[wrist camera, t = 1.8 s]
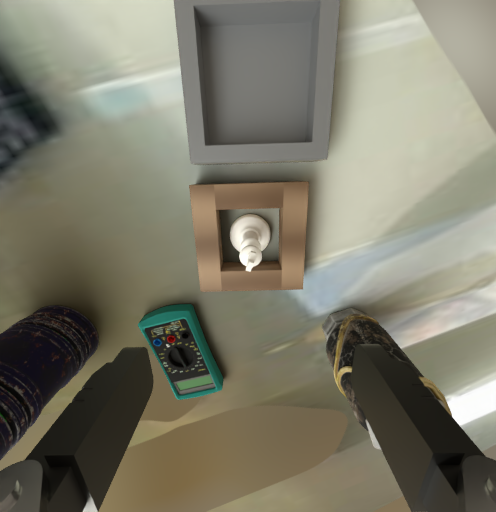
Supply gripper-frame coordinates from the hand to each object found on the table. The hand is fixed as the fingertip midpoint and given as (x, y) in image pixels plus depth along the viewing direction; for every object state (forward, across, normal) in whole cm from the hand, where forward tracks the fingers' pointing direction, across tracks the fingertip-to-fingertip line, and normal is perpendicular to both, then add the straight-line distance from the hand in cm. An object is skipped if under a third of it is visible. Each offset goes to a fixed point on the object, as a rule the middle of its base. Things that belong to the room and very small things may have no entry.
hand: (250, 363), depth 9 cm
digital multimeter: (+21, +10, +17) cm, 29 cm away
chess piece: (+20, 0, 0) cm, 20 cm away
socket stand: (+20, 0, 0) cm, 20 cm away
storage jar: (+20, +27, +14) cm, 36 cm away
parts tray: (+20, -1, -15) cm, 25 cm away
